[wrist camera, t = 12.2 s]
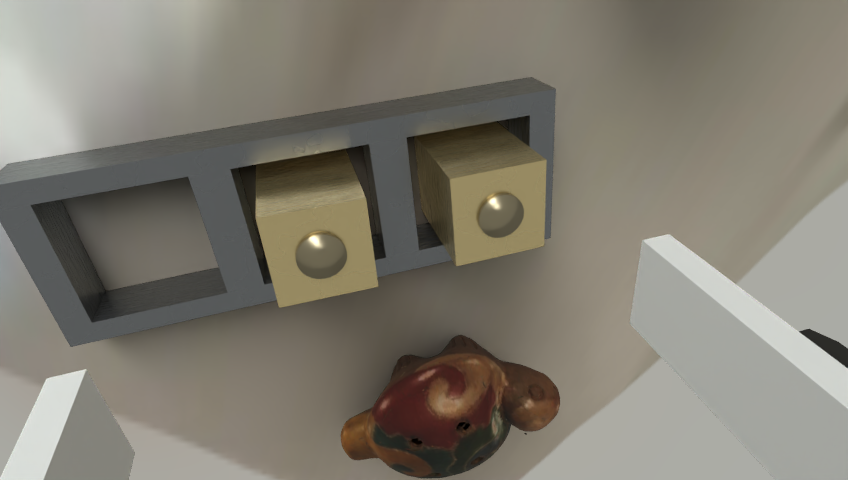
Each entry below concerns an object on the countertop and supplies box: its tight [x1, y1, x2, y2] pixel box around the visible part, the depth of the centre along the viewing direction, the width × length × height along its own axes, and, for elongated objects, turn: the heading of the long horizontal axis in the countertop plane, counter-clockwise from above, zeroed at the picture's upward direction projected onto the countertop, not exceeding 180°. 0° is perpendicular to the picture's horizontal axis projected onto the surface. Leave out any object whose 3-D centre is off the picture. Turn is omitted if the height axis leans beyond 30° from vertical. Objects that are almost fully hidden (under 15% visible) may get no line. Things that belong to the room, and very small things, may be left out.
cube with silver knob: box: [256, 149, 378, 308], centre depth 28 cm, size 5×5×7 cm
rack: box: [0, 77, 556, 347], centre depth 30 cm, size 9×28×3 cm, turn 95°
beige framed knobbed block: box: [414, 121, 547, 266], centre depth 30 cm, size 5×5×7 cm
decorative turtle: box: [341, 335, 560, 478], centre depth 38 cm, size 10×15×8 cm, turn 113°
